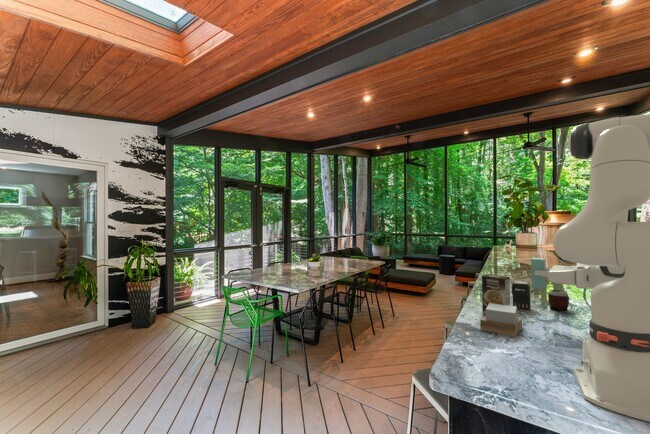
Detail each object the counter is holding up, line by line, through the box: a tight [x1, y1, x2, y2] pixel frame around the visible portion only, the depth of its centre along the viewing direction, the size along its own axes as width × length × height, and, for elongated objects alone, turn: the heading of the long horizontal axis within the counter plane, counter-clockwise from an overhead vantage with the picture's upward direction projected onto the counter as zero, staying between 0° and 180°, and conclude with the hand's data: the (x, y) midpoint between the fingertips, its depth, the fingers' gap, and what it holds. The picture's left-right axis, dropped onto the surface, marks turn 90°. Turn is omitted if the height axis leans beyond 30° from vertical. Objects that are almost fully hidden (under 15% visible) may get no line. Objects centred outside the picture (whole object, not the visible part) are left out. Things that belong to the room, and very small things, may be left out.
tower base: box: [479, 314, 523, 338], centre depth 109 cm, size 11×11×4 cm
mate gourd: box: [547, 282, 570, 312], centre depth 130 cm, size 8×8×15 cm
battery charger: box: [511, 281, 532, 310], centre depth 132 cm, size 7×4×11 cm, turn 47°
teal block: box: [530, 257, 547, 290], centre depth 113 cm, size 4×4×11 cm
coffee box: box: [481, 273, 511, 315], centre depth 125 cm, size 9×6×16 cm
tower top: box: [485, 303, 518, 325], centre depth 109 cm, size 9×9×4 cm
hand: (535, 271), depth 114 cm, fingers closed on teal block, 4 cm apart
